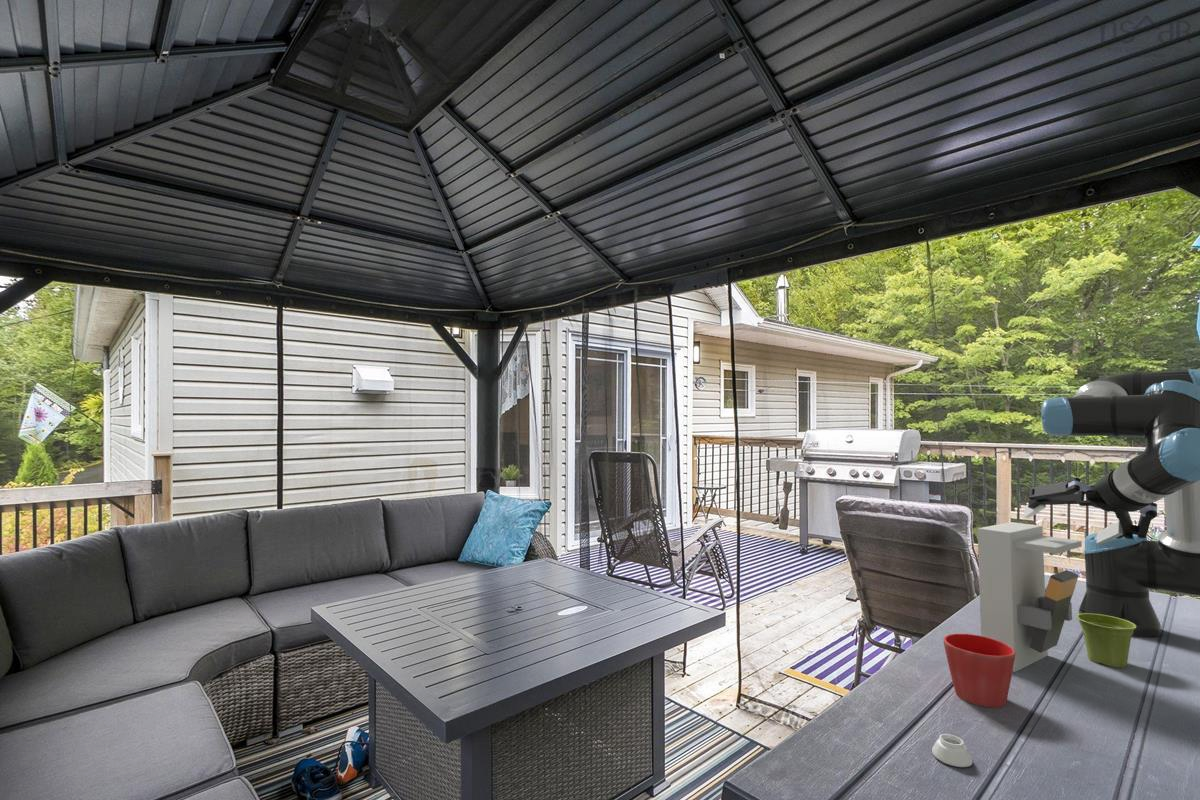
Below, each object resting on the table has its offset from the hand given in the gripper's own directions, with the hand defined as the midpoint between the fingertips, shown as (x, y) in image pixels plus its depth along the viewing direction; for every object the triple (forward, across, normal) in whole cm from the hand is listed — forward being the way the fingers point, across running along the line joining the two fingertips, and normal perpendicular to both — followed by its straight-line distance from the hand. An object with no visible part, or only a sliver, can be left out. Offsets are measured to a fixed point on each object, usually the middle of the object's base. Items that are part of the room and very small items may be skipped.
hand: (1061, 525), depth 119 cm
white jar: (-20, -22, -58) cm, 65 cm away
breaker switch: (+9, +3, -24) cm, 26 cm away
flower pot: (-2, -12, -42) cm, 44 cm away
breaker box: (+12, +4, -27) cm, 30 cm away
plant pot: (+15, +18, -19) cm, 30 cm away
